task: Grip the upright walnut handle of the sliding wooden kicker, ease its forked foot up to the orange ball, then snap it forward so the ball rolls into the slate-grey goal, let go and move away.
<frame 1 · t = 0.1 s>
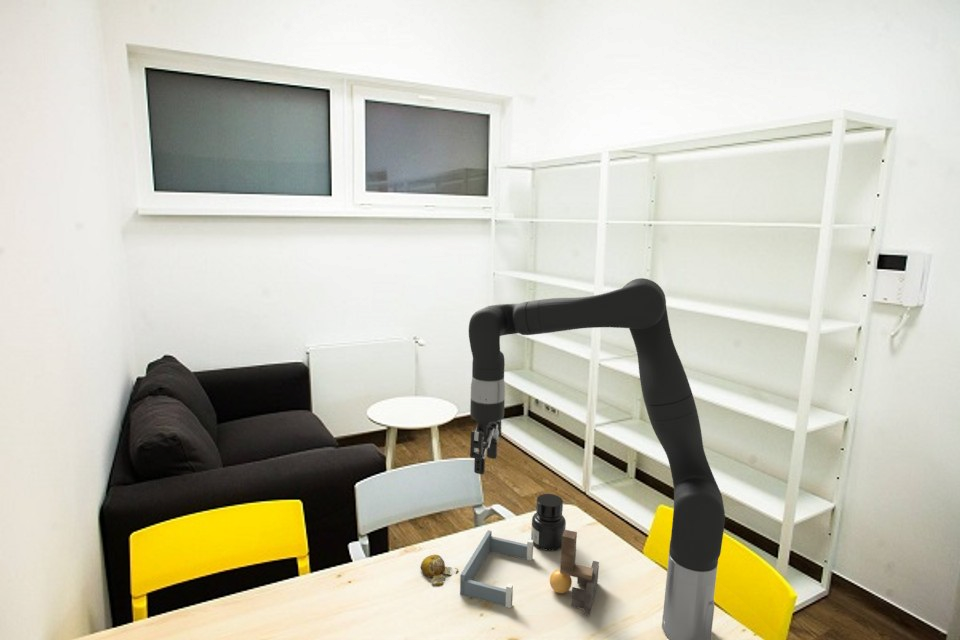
hand: (485, 465, 122), 29 cm above the table, tool pointing down, fingers open, 8 cm apart
kicker: (578, 565, 122), point 8 cm above the table, slide at 0.0 cm
ink bottle: (547, 542, 144), on the table
ball: (560, 581, 124), point 2 cm above the table
fruit: (437, 576, 130), on the table
goal: (498, 575, 130), on the table
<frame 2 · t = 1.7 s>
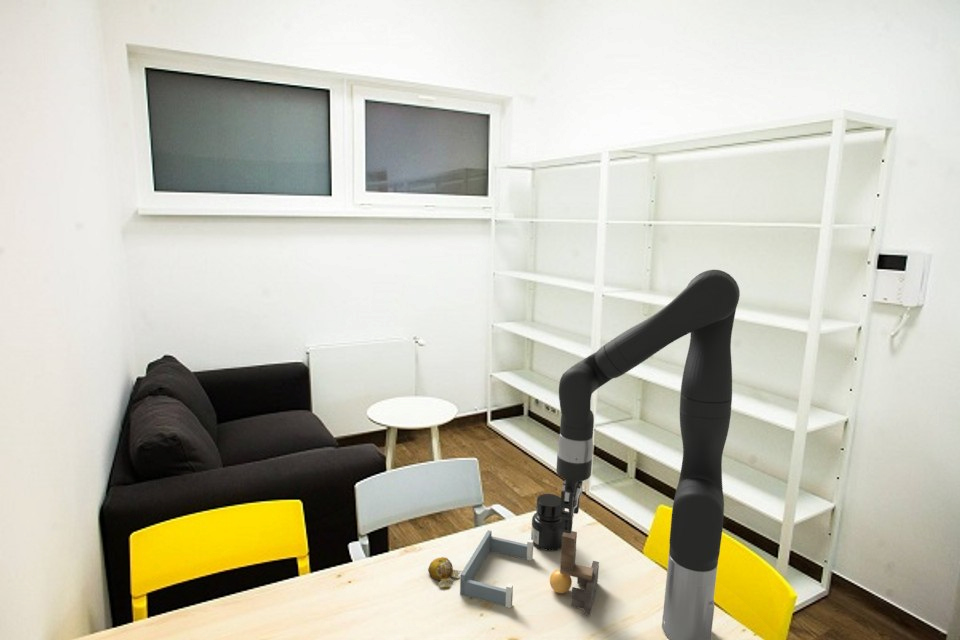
hand: (570, 521, 121), 18 cm above the table, tool pointing down, fingers open, 8 cm apart
fruit: (445, 579, 129), on the table
everything else where it was.
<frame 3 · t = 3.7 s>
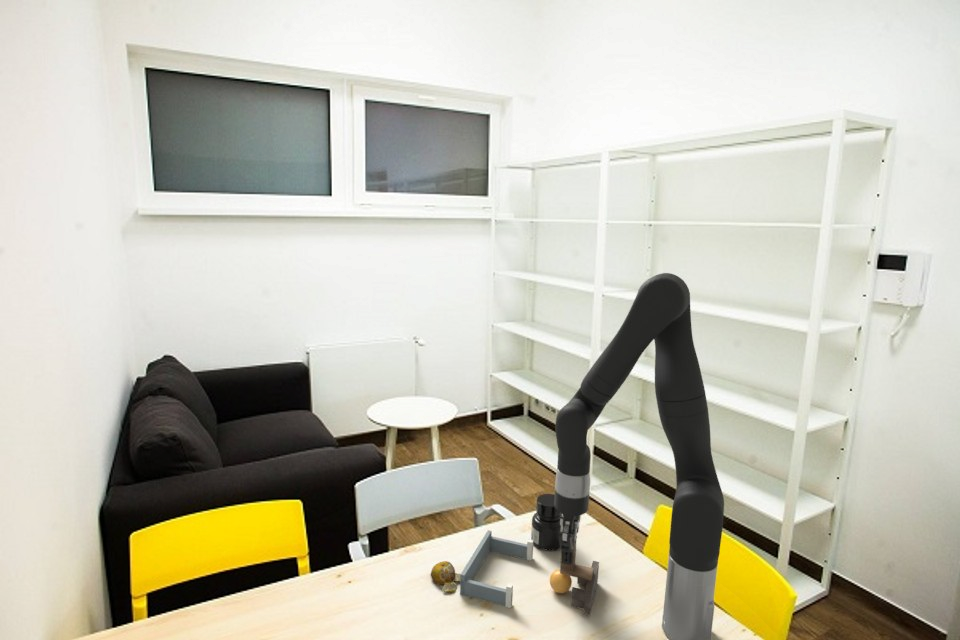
hand: (568, 558, 123), 9 cm above the table, tool pointing down, fingers closed on kicker, 3 cm apart
kicker: (578, 565, 122), point 8 cm above the table, slide at 0.0 cm, touching gripper
fruit: (448, 583, 127), on the table
everything else where it was.
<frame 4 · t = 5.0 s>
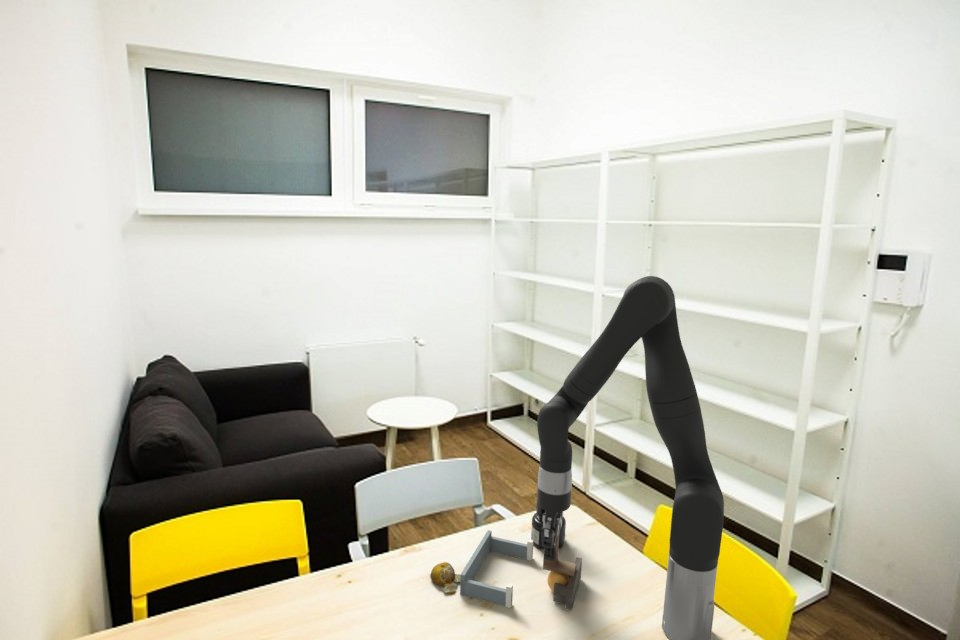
hand: (551, 554, 124), 9 cm above the table, tool pointing down, fingers closed on kicker, 3 cm apart
kicker: (561, 561, 123), point 8 cm above the table, slide at 4.0 cm, touching gripper
ball: (558, 580, 124), point 2 cm above the table, tilted 12°
everything else where it was.
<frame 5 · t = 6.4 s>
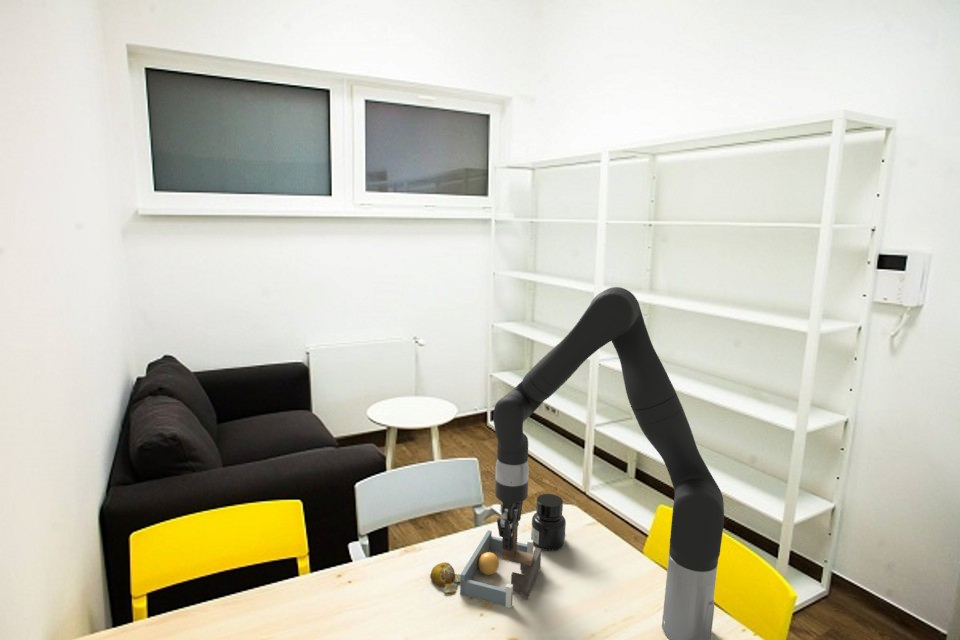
hand: (509, 545, 127), 9 cm above the table, tool pointing down, fingers closed on kicker, 3 cm apart
kicker: (519, 551, 127), point 8 cm above the table, slide at 13.8 cm, touching gripper
ball: (488, 563, 130), point 3 cm above the table, tilted 36°, touching goal
everything else where it was.
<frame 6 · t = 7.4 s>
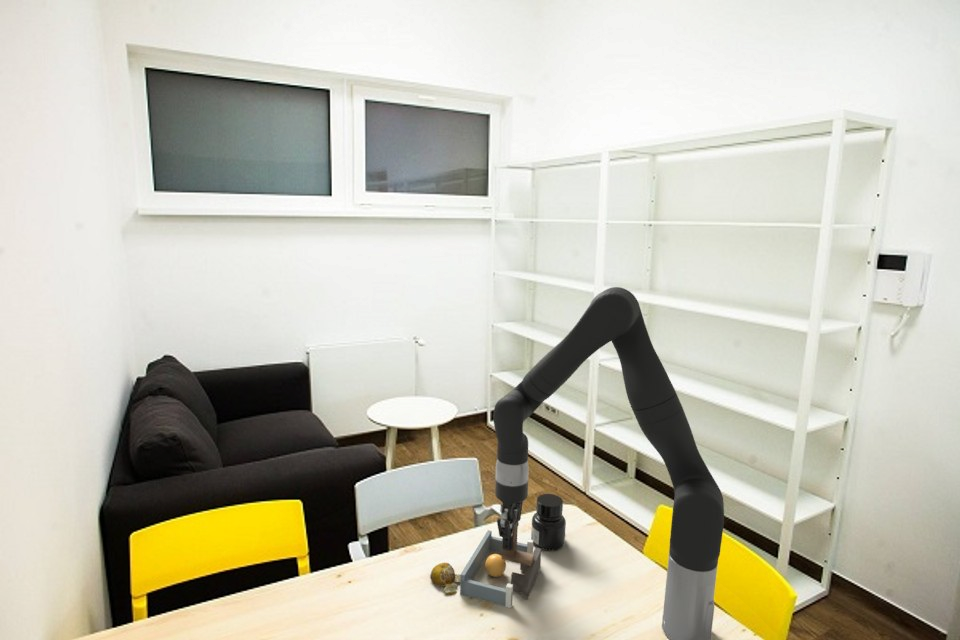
hand: (509, 545, 127), 9 cm above the table, tool pointing down, fingers closed on kicker, 2 cm apart
kicker: (519, 551, 127), point 8 cm above the table, slide at 13.8 cm, touching gripper
ball: (495, 565, 129), point 2 cm above the table
fruit: (448, 585, 127), on the table, touching goal
everything else where it was.
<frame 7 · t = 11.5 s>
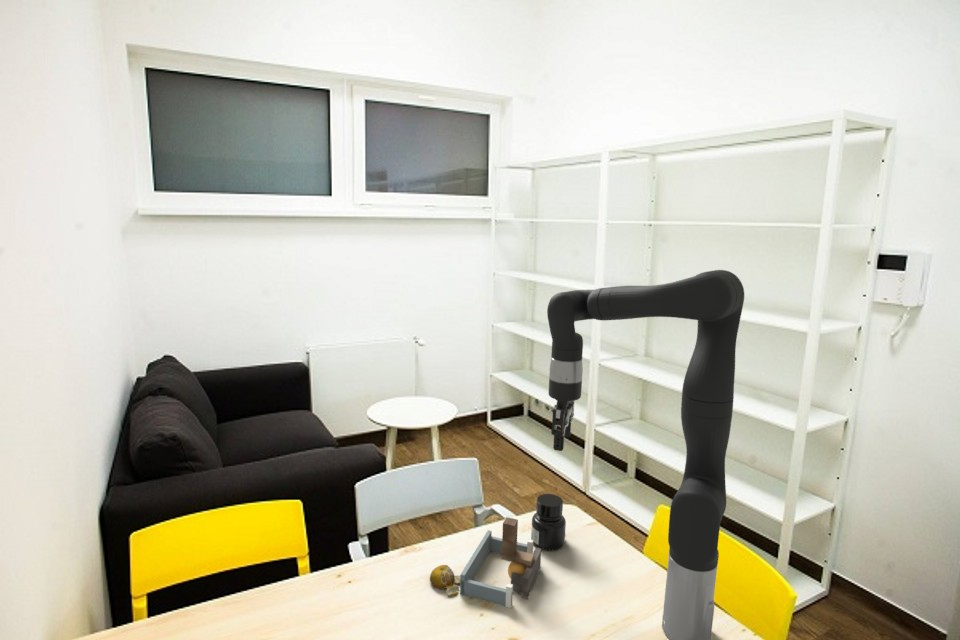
hand: (562, 443, 128), 32 cm above the table, tool pointing down, fingers open, 8 cm apart
kicker: (519, 551, 127), point 8 cm above the table, slide at 13.8 cm
ball: (518, 570, 128), point 2 cm above the table, tilted 134°
fruit: (448, 586, 126), on the table
everything else where it was.
at the end: ball inside the target area (4.4 cm from its centre), point 2.5 cm above the table; kicker slide at 13.8 cm; the gripper is holding nothing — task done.
